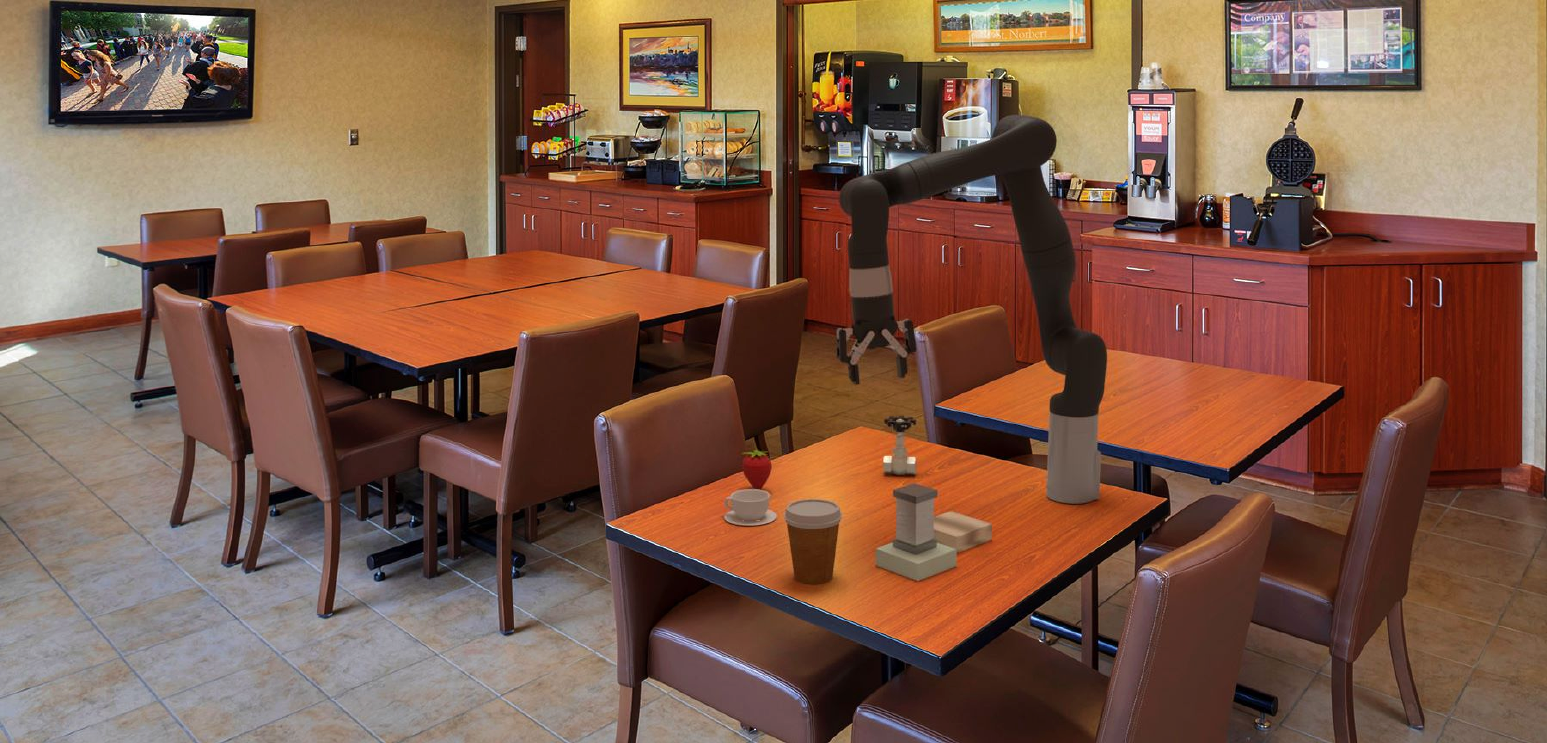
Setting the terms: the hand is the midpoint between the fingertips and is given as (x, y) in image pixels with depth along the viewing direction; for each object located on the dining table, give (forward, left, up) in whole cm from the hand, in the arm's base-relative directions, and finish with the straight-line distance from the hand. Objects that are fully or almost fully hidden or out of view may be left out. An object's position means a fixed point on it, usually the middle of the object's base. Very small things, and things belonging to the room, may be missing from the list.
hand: (879, 380), depth 215 cm
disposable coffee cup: (+17, +23, -27) cm, 39 cm away
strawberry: (+18, -23, -27) cm, 40 cm away
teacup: (+23, -8, -27) cm, 36 cm away
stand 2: (-11, +12, -27) cm, 31 cm away
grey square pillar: (0, +21, -24) cm, 32 cm away
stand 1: (0, +22, -27) cm, 35 cm away
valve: (-13, -28, -27) cm, 41 cm away
